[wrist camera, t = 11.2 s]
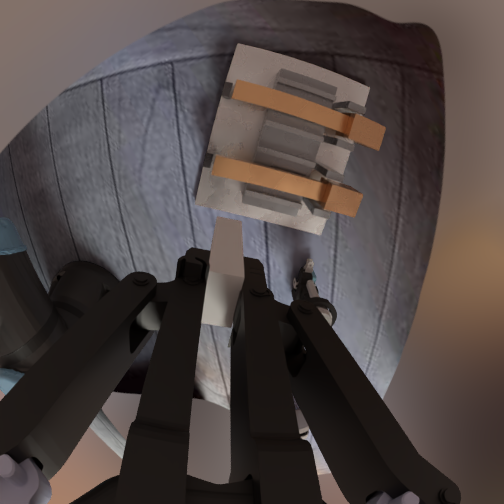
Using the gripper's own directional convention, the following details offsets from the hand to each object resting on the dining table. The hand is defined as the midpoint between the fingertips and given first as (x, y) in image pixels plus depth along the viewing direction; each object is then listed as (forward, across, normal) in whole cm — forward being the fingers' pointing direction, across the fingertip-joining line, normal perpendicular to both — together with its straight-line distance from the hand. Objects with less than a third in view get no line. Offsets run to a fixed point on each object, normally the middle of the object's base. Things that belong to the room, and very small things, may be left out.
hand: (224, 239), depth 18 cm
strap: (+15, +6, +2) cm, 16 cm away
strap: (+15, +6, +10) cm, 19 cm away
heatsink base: (+19, +5, +6) cm, 21 cm away
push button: (+20, +14, -12) cm, 27 cm away
